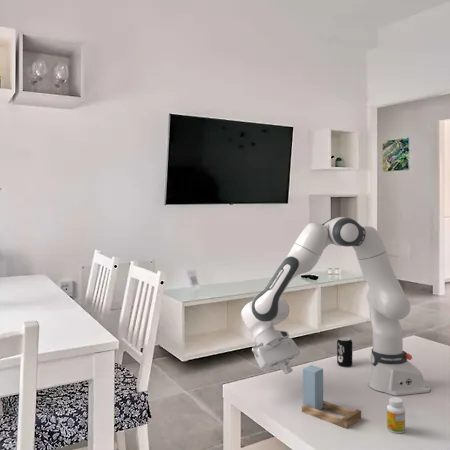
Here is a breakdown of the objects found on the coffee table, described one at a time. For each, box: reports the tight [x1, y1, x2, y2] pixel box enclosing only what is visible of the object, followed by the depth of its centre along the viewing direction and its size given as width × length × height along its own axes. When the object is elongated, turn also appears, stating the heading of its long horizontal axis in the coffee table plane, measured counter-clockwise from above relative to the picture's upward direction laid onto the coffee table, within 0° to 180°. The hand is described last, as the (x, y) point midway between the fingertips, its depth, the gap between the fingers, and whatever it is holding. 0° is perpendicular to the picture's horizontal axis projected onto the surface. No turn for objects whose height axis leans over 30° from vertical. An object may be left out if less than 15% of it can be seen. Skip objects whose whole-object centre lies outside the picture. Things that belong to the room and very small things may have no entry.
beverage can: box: [336, 336, 353, 368], centre depth 208 cm, size 7×7×12 cm
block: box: [302, 364, 324, 411], centre depth 164 cm, size 5×5×14 cm
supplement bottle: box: [386, 396, 406, 435], centre depth 148 cm, size 5×5×10 cm
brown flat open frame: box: [301, 400, 362, 429], centre depth 159 cm, size 18×9×3 cm, turn 44°
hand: (289, 372), depth 172 cm, fingers closed
